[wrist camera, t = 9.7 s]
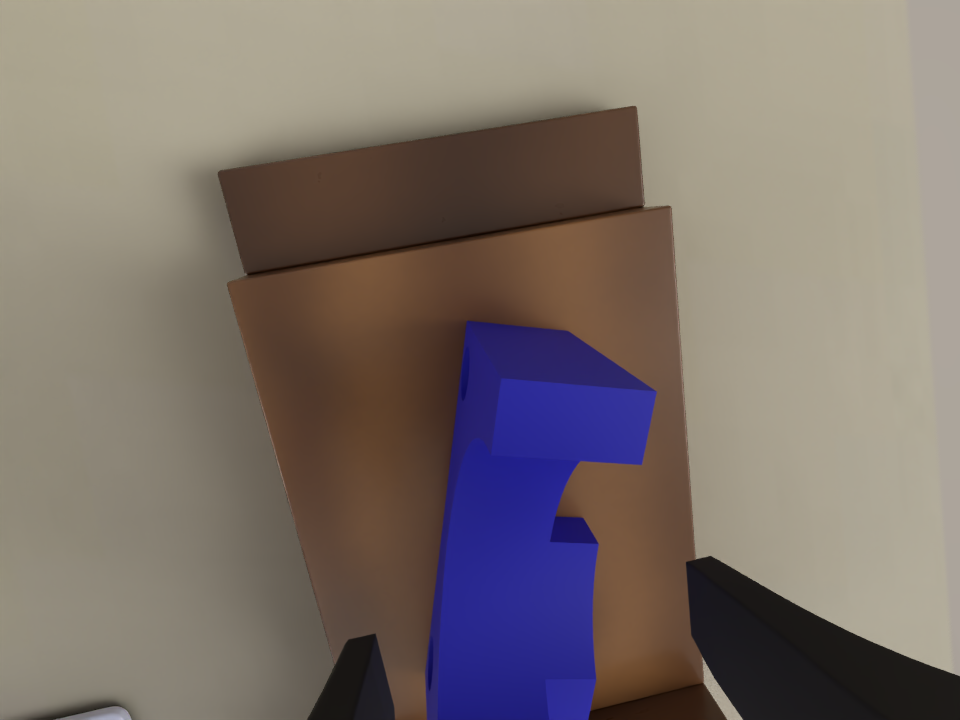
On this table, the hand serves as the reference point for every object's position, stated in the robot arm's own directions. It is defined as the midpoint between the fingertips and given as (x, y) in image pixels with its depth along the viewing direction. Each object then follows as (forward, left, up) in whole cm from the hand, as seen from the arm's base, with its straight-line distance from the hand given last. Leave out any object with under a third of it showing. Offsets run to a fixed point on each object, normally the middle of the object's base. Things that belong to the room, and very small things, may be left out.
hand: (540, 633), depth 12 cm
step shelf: (0, 0, -8) cm, 8 cm away
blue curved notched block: (0, 0, -5) cm, 5 cm away
